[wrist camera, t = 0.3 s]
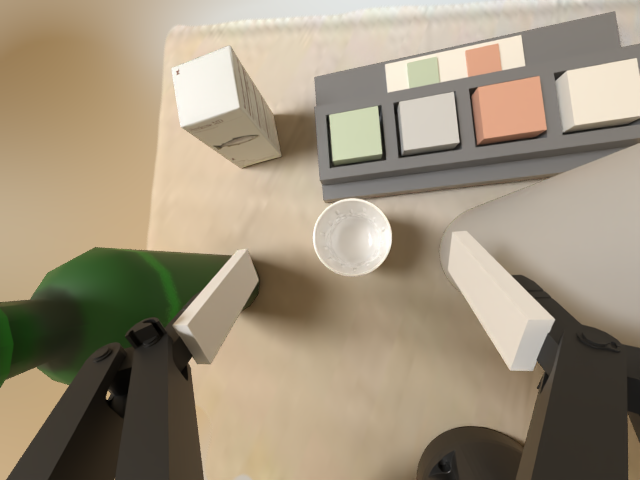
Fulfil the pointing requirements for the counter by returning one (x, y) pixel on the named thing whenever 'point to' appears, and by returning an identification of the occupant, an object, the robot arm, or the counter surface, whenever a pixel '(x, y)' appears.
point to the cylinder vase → (571, 240)
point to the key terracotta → (508, 111)
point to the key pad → (471, 111)
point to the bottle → (98, 306)
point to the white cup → (352, 237)
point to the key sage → (355, 136)
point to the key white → (599, 96)
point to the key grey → (428, 124)
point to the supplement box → (225, 108)
